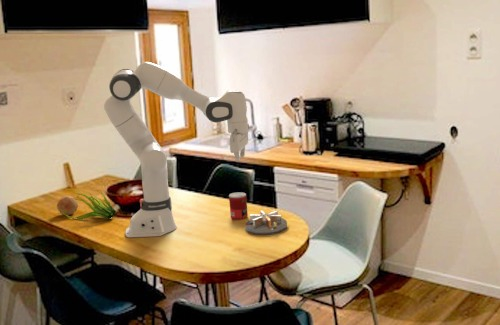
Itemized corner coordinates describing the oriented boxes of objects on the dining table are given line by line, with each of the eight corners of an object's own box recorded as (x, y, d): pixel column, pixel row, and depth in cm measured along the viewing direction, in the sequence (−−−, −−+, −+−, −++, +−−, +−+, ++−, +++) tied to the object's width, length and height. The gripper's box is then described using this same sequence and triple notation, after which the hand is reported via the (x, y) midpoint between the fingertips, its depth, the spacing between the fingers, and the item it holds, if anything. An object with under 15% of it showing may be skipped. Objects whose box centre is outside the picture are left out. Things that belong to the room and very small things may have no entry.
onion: (57, 214, 269) (54, 195, 267) (77, 210, 273) (75, 192, 271) (59, 219, 261) (56, 200, 258) (79, 215, 264) (77, 196, 262)
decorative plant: (86, 209, 275) (82, 182, 272) (118, 218, 255) (114, 189, 252) (54, 218, 262) (49, 190, 259) (85, 229, 242) (80, 198, 239)
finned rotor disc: (284, 225, 221) (284, 217, 220) (255, 230, 218) (254, 222, 217) (275, 215, 234) (275, 208, 233) (248, 219, 231) (247, 212, 231)
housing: (247, 237, 217) (247, 227, 216) (243, 223, 234) (242, 213, 233) (290, 232, 219) (290, 222, 218) (283, 218, 236) (282, 209, 235)
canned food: (246, 219, 239) (244, 196, 236) (229, 220, 240) (227, 197, 238) (249, 214, 246) (247, 191, 243) (232, 214, 247) (230, 192, 245)
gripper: (239, 131, 216) (242, 164, 219) (249, 123, 236) (251, 153, 239) (225, 132, 218) (227, 164, 221) (235, 124, 237) (238, 154, 240)
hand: (240, 158), depth 230 cm, fingers open, 8 cm apart
